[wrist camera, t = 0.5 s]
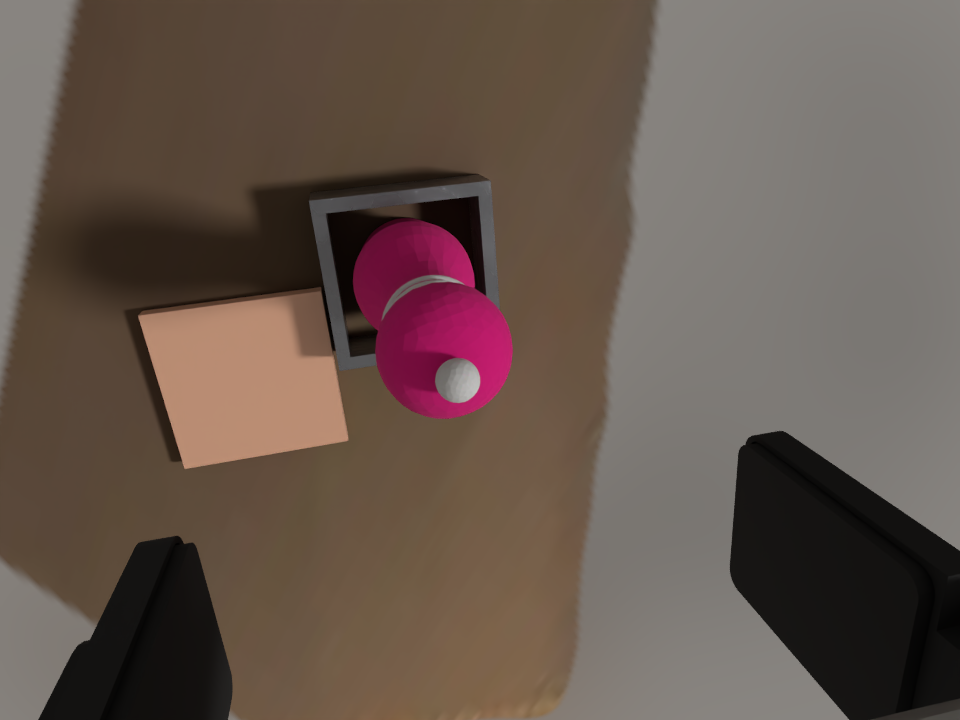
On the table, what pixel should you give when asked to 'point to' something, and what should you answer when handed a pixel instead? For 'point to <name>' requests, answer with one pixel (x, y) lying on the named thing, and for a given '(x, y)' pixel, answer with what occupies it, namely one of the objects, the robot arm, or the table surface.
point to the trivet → (247, 375)
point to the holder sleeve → (324, 202)
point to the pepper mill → (430, 320)
